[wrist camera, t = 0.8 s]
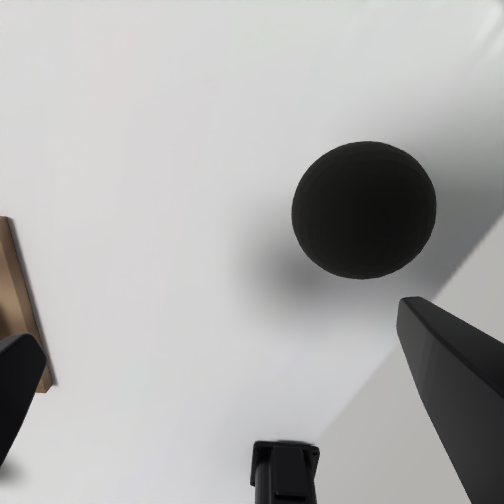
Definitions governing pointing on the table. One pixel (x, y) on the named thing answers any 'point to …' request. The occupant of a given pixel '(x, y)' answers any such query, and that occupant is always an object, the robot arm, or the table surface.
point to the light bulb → (364, 210)
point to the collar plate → (16, 299)
